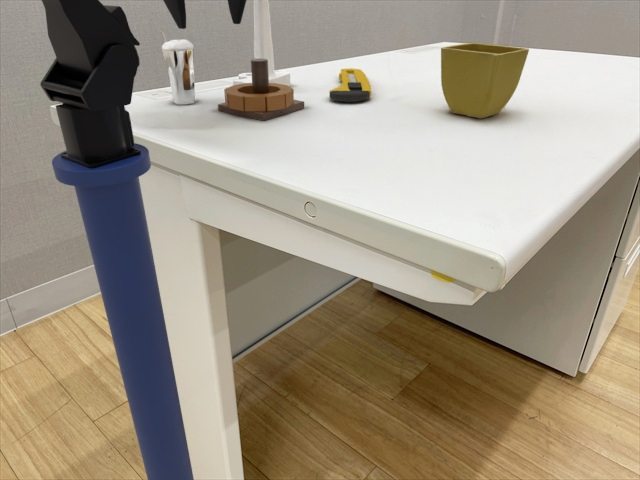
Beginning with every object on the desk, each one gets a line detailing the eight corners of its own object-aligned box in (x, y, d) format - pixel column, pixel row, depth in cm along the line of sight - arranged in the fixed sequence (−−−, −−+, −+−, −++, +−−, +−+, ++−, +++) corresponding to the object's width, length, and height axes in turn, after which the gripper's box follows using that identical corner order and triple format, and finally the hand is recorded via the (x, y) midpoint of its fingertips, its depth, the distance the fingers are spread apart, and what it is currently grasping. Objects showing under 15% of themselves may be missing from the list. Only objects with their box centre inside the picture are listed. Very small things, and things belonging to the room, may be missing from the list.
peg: (263, 121, 68) (261, 67, 65) (218, 111, 73) (213, 60, 70) (304, 108, 75) (304, 58, 71) (260, 99, 79) (257, 53, 76)
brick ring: (262, 115, 67) (261, 100, 66) (211, 104, 72) (210, 90, 71) (306, 102, 74) (306, 88, 73) (257, 93, 79) (256, 80, 78)
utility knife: (329, 104, 77) (329, 90, 76) (327, 76, 97) (327, 65, 96) (374, 104, 77) (374, 90, 76) (362, 76, 97) (363, 65, 96)
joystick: (253, 98, 80) (244, -46, 71) (219, 92, 84) (207, -45, 74) (295, 86, 88) (293, -44, 79) (263, 81, 92) (257, -44, 82)
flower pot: (464, 103, 77) (473, 41, 73) (518, 113, 72) (530, 47, 68) (432, 113, 72) (439, 47, 68) (487, 125, 67) (499, 54, 62)
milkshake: (182, 96, 81) (174, 30, 76) (205, 101, 78) (198, 32, 73) (159, 102, 78) (149, 32, 73) (183, 107, 75) (173, 35, 70)
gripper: (176, -144, 46) (194, 36, 54) (304, -117, 59) (304, 25, 67) (109, -131, 52) (133, 29, 60) (238, -109, 65) (245, 20, 73)
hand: (210, 26), depth 65 cm, fingers open, 9 cm apart
